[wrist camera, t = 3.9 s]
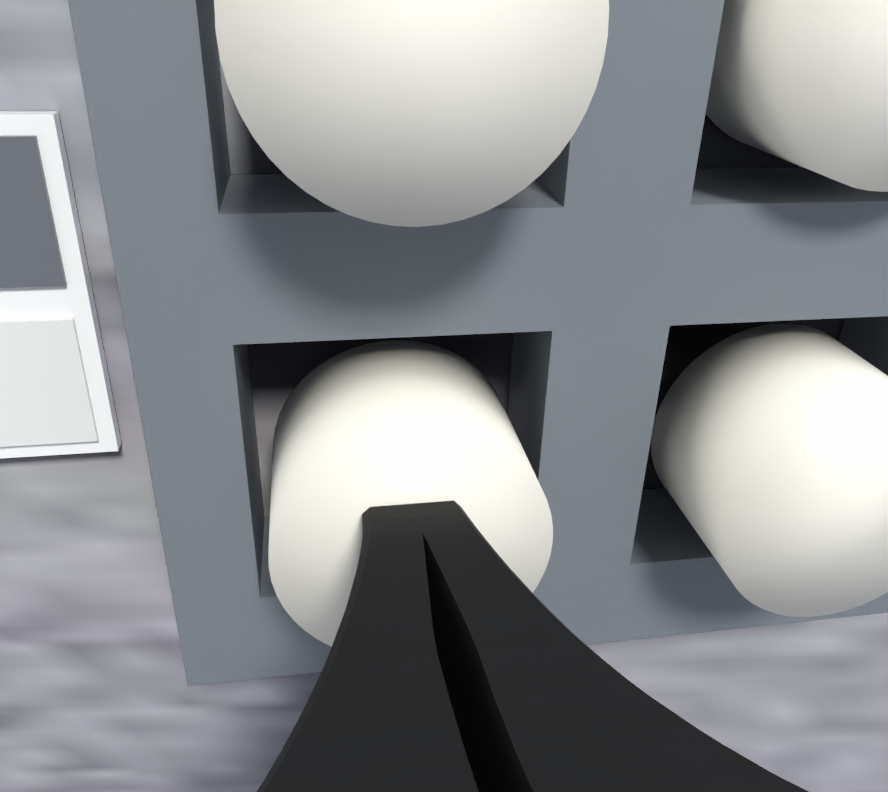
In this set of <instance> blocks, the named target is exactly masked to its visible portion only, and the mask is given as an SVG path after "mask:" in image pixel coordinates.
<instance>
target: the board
mask: <svg viewBox="0 0 888 792" xmlns="http://www.w3.org/2000/svg"><path fill="white" fill-rule="evenodd" d="M68 2H69V8H70V14H71V19H72V25H73V31H74V37H75V42H76V48H77V54H78V60H79V65H80V71H81V77H82V82H83V88H84V94H85V100H86V105H87V111H88V117H89V123H90V128H91V134H92V140H93V146H94V151H95V157H96V163H97V169H98V174H99V180H100V186H101V191H102V197H103V203H104V209H105V214H106V220H107V226H108V232H109V237H110V243H111V249H112V255H113V260H114V266H115V272H116V277H117V283H118V289H119V295H120V300H121V306H122V312H123V318H124V323H125V329H126V335H127V341H128V346H129V352H130V358H131V363H132V369H133V375H134V381H135V386H136V392H137V398H138V404H139V409H140V415H141V421H142V427H143V432H144V438H145V444H146V449H147V455H148V461H149V467H150V472H151V478H152V484H153V490H154V495H155V501H156V507H157V513H158V518H159V524H160V530H161V535H162V541H163V547H164V553H165V558H166V564H167V570H168V576H169V581H170V587H171V593H172V599H173V604H174V610H175V616H176V621H177V627H178V633H179V639H180V644H181V650H182V656H183V662H184V667H185V673H186V679H187V685H188V686H195V685H205V684H214V683H224V682H233V681H243V680H252V679H262V678H271V677H281V676H290V675H300V674H309V673H319V672H322V670H323V667H324V665H325V663H326V660H327V658H328V655H329V653H330V650H331V648H332V647H331V646H329V645H327V644H325V643H323V642H321V641H319V640H317V639H316V638H314V637H313V636H312V635H310V634H309V633H307V632H306V631H304V630H303V629H302V628H301V627H300V626H299V625H298V624H297V623H296V622H295V621H294V620H293V619H292V618H291V617H290V615H289V614H288V613H287V612H286V610H285V609H284V608H283V606H282V604H281V602H280V601H279V599H278V597H277V595H276V593H275V590H274V587H273V585H272V582H271V577H270V572H269V561H268V548H269V526H270V518H264V509H263V499H262V488H261V478H260V468H259V458H258V448H257V438H256V428H255V418H254V407H253V397H252V387H251V377H250V367H249V357H248V347H247V344H263V343H286V342H308V341H331V340H354V339H377V338H400V337H423V336H446V335H469V334H491V333H513V341H512V355H511V370H510V384H509V398H508V413H507V415H508V417H509V420H510V422H511V424H512V426H513V428H514V430H515V432H516V435H517V437H518V439H519V441H520V443H521V445H522V447H523V450H524V452H525V454H526V456H527V458H528V460H529V462H530V464H531V467H532V469H533V471H534V473H535V475H536V477H537V479H538V482H539V484H540V486H541V488H542V490H543V492H544V494H545V497H546V499H547V501H548V505H549V508H550V511H551V516H552V523H553V544H552V549H551V554H550V558H549V561H548V564H547V567H546V570H545V572H544V574H543V576H542V578H541V580H540V582H539V584H538V586H537V587H536V589H535V590H534V592H533V594H534V595H535V596H536V597H537V598H538V599H539V600H540V601H541V602H542V603H543V604H544V605H545V606H546V607H547V608H548V609H549V610H550V611H551V612H552V613H553V614H554V615H555V616H556V617H557V618H558V619H559V620H560V621H561V622H562V623H563V624H564V625H565V626H566V627H567V628H568V629H569V630H570V631H571V632H572V633H573V634H574V635H576V636H577V637H578V638H579V639H580V640H581V641H582V642H583V643H584V644H594V643H603V642H613V641H622V640H632V639H641V638H651V637H660V636H670V635H679V634H688V633H698V632H707V631H717V630H726V629H736V628H745V627H755V626H764V625H774V624H783V623H793V622H802V621H812V620H821V619H831V618H840V617H850V616H859V615H869V614H878V613H888V592H887V593H886V594H884V595H882V596H880V597H878V598H876V599H874V600H872V601H870V602H868V603H865V604H863V605H861V606H858V607H855V608H852V609H849V610H846V611H842V612H838V613H835V614H830V615H823V616H816V617H791V616H784V615H779V614H775V613H772V612H769V611H766V610H763V609H761V608H760V607H758V606H756V605H754V604H752V603H751V602H750V601H748V600H747V599H746V598H745V597H743V595H742V594H741V593H740V592H739V591H738V590H737V589H736V587H735V586H734V585H733V583H732V582H731V580H730V579H729V578H728V576H727V575H726V573H725V572H724V570H723V569H722V568H721V566H720V565H719V563H718V562H717V560H716V559H715V558H714V556H713V555H712V553H711V552H710V550H709V549H708V548H707V546H706V545H705V543H704V542H703V541H702V539H701V538H700V536H699V535H698V533H697V532H696V531H695V529H694V528H693V526H692V525H691V523H690V522H689V521H688V519H687V518H686V516H685V515H684V514H683V512H682V511H681V509H680V508H679V506H678V505H677V504H676V502H675V501H674V499H673V498H672V496H671V495H670V494H669V492H668V491H667V489H666V488H656V489H643V483H644V477H645V471H646V465H647V459H648V454H649V448H650V442H651V436H652V430H653V424H654V418H655V412H656V406H657V400H658V394H659V388H660V382H661V376H662V370H663V364H664V358H665V352H666V346H667V340H668V334H669V328H670V326H674V325H697V324H720V323H743V322H766V321H789V320H812V319H834V318H844V321H843V325H842V328H841V332H840V336H839V339H838V341H839V342H840V343H841V344H843V345H844V346H846V347H847V348H849V349H850V350H851V351H853V352H854V353H856V354H857V355H859V356H860V357H861V358H863V359H864V360H866V361H867V362H869V363H870V364H871V365H873V366H874V367H876V368H877V369H879V370H880V371H881V372H883V373H884V374H886V375H887V376H888V192H880V191H867V190H862V189H858V188H853V187H851V186H848V185H845V184H843V183H840V182H838V181H835V180H833V179H831V178H828V177H826V176H823V175H821V174H818V173H816V172H813V171H811V170H808V169H806V168H803V167H802V168H723V169H696V167H697V161H698V155H699V149H700V143H701V137H702V131H703V125H704V119H705V114H706V108H707V102H708V96H709V90H710V84H711V78H712V72H713V66H714V60H715V54H716V48H717V42H718V36H719V30H720V24H721V18H722V12H723V6H724V0H609V23H608V38H607V44H606V50H605V56H604V62H603V66H602V69H601V73H600V76H599V80H598V83H597V87H596V90H595V92H594V95H593V97H592V99H591V102H590V104H589V107H588V109H587V111H586V113H585V115H584V117H583V119H582V121H581V123H580V124H579V126H578V128H577V130H576V132H575V133H574V135H573V136H572V138H571V139H570V141H569V142H568V143H567V145H566V146H565V148H564V149H563V150H562V152H561V153H560V155H559V156H558V157H557V158H556V159H555V160H554V161H553V162H552V163H551V165H550V166H549V167H548V168H547V169H546V170H545V171H544V172H543V173H542V174H541V175H540V176H539V177H538V178H536V179H535V180H534V181H533V182H532V183H531V184H529V185H528V186H527V187H526V188H525V189H523V190H522V191H520V192H519V193H517V194H516V195H515V196H513V197H512V198H510V199H509V200H507V201H506V202H504V203H502V204H500V205H498V206H496V207H494V208H492V209H490V210H488V211H486V212H484V213H481V214H478V215H475V216H473V217H470V218H467V219H464V220H461V221H456V222H452V223H447V224H443V225H435V226H423V227H404V226H391V225H385V224H379V223H374V222H369V221H366V220H363V219H360V218H356V217H353V216H350V215H347V214H345V213H343V212H341V211H339V210H336V209H334V208H332V207H330V206H328V205H326V204H324V203H323V202H321V201H319V200H318V199H316V198H315V197H313V196H311V195H310V194H308V193H306V192H305V191H304V190H303V189H301V188H300V187H299V186H298V185H296V184H295V183H294V182H293V181H292V180H290V179H289V178H288V177H287V176H286V175H285V174H243V175H230V164H229V154H228V144H227V134H226V124H225V114H224V104H223V94H222V83H221V73H220V63H219V53H218V44H217V37H216V31H215V13H214V2H213V0H68ZM642 489H643V490H642Z"/></svg>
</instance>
